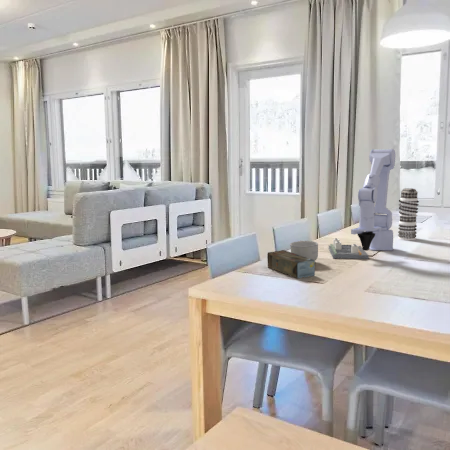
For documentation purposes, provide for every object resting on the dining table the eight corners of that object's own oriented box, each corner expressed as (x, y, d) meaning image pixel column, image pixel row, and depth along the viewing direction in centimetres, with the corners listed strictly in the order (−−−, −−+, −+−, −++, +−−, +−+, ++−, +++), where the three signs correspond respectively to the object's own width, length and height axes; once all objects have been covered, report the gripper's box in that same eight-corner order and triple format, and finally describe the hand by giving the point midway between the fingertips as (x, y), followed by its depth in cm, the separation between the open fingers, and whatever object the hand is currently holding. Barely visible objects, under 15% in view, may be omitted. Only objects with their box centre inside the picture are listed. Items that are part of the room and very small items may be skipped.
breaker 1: (338, 245, 205) (338, 238, 205) (339, 247, 202) (339, 239, 201) (333, 245, 206) (333, 238, 205) (333, 247, 202) (334, 239, 202)
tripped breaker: (356, 252, 192) (357, 244, 191) (358, 253, 188) (358, 245, 188) (351, 251, 192) (351, 243, 192) (352, 253, 189) (352, 245, 188)
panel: (360, 249, 206) (360, 244, 206) (368, 259, 186) (368, 253, 186) (328, 248, 208) (328, 243, 208) (333, 258, 188) (333, 252, 188)
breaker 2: (340, 248, 199) (340, 241, 199) (341, 250, 196) (341, 242, 195) (334, 248, 199) (334, 240, 199) (335, 250, 196) (335, 242, 195)
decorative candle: (411, 241, 224) (414, 189, 220) (393, 238, 231) (395, 188, 227) (420, 238, 230) (423, 188, 226) (402, 236, 237) (405, 187, 233)
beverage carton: (297, 279, 158) (297, 260, 157) (266, 268, 175) (266, 251, 174) (315, 276, 162) (315, 258, 161) (283, 265, 178) (283, 248, 177)
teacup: (317, 266, 175) (318, 245, 174) (289, 265, 177) (289, 245, 176) (317, 258, 189) (318, 239, 187) (291, 257, 191) (291, 238, 190)
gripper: (373, 215, 194) (371, 246, 196) (346, 217, 188) (345, 250, 190) (385, 217, 188) (384, 249, 190) (358, 219, 182) (357, 253, 184)
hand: (365, 250), depth 190 cm, fingers closed
